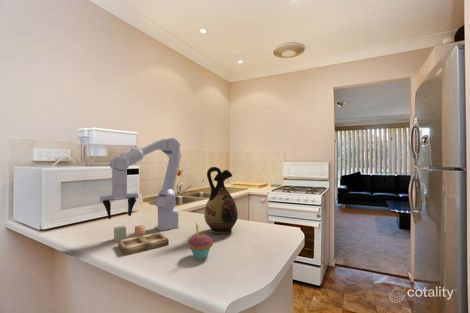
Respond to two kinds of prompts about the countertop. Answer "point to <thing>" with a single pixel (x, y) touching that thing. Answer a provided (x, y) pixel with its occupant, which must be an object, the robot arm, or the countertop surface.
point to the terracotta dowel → (139, 230)
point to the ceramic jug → (220, 204)
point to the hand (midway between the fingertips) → (119, 216)
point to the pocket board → (142, 243)
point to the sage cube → (119, 233)
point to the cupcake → (200, 245)
